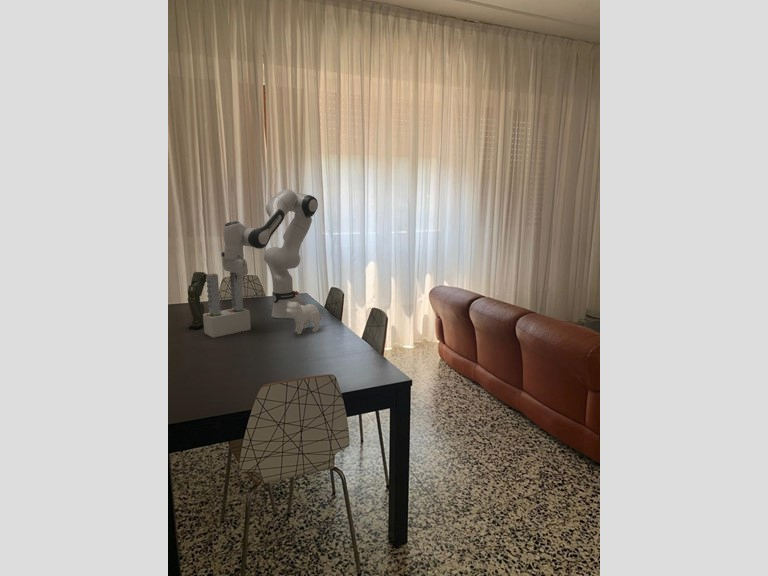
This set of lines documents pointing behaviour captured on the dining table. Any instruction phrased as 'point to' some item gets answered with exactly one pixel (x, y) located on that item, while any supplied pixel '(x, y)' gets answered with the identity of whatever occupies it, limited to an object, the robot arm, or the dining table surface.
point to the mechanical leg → (196, 299)
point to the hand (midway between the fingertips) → (236, 281)
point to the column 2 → (236, 293)
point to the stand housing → (226, 323)
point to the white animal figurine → (303, 315)
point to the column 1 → (213, 295)
